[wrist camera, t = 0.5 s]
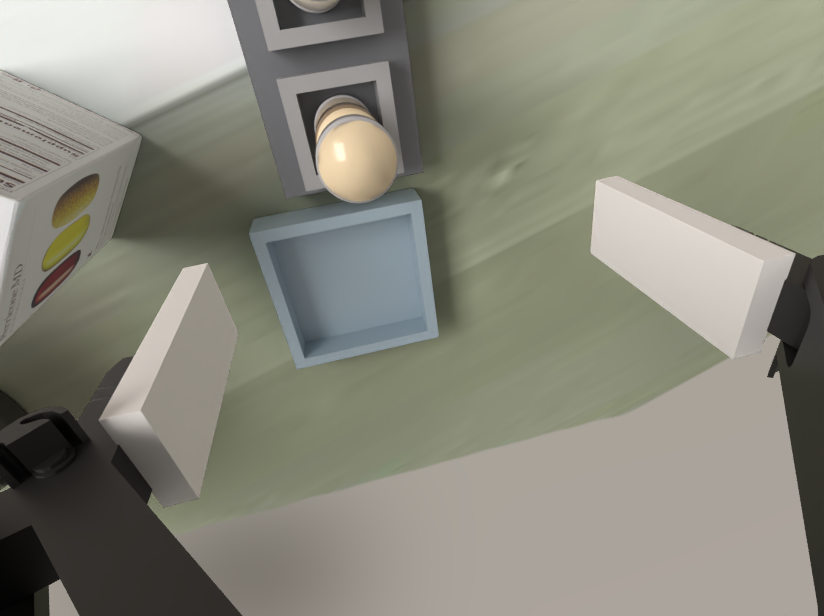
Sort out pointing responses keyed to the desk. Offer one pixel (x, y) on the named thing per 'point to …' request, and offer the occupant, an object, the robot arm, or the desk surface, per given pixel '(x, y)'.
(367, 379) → the desk surface
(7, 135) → the supplement box
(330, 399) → the desk surface
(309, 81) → the fuse holder
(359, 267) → the parts tray
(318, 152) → the fuse
